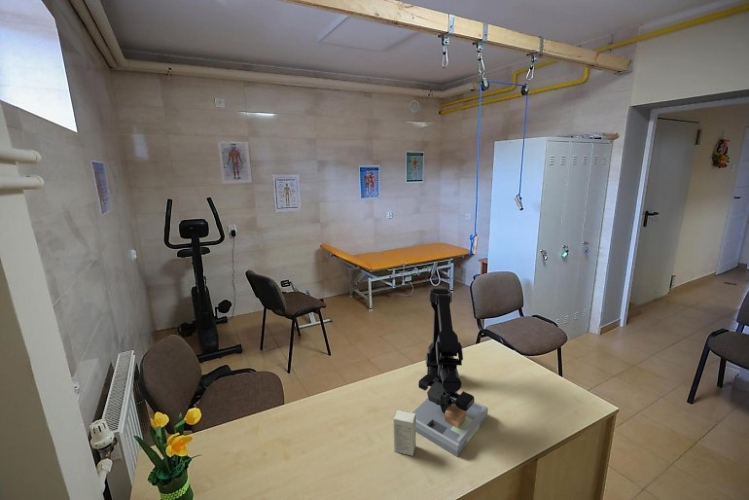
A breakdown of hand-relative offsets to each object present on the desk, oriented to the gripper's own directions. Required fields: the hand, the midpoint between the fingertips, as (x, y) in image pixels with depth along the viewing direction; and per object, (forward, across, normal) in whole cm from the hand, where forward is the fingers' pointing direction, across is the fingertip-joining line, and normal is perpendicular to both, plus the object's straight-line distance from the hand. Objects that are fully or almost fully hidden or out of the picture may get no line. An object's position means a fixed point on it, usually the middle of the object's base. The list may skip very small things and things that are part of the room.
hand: (444, 412), depth 120 cm
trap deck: (+3, +1, 0) cm, 3 cm away
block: (+1, +4, 0) cm, 4 cm away
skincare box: (+4, -3, -19) cm, 19 cm away
